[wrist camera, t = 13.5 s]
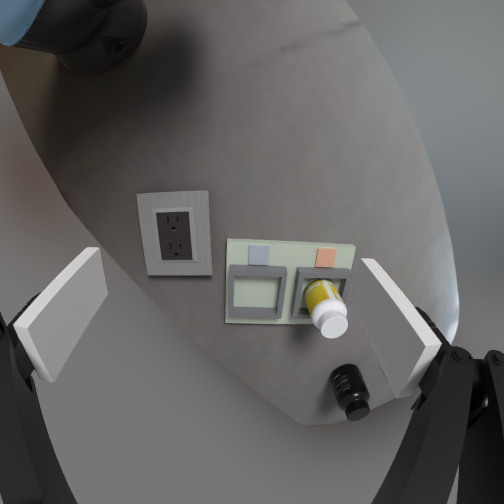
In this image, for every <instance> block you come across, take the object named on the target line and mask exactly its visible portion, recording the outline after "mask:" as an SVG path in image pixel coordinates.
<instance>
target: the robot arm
mask: <svg viewBox="0 0 504 504" xmlns="http://www.w3.org/2000/svg"><path fill="white" fill-rule="evenodd" d="M146 24H147V10H146V7H145V4H144V3H143V1H142V0H0V43H3V44H4V45H6V46H15V47H21V48H26V49H32V50H37V51H42V52H47V53H51V54H54V55H55V56H56V57H57V58H58V60H59V61H60V62H61V64H62V65H63V66H64V67H66V68H67V69H69V70H71V71H74V72H78V73H82V74H95V73H100V72H103V71H106V70H108V69H110V68H112V67H114V66H115V65H117V64H118V63H120V62H121V61H122V60H124V59H125V58H126V57H127V56H128V55H129V54H130V53H131V52H132V51H133V50H134V48H135V47H136V46H137V44H138V43H139V41H140V39H141V38H142V36H143V33H144V31H145V28H146ZM107 295H108V292H107V287H106V282H105V277H104V271H103V266H102V260H101V254H100V248H97V247H87V248H86V249H85V250H84V251H82V252H81V253H80V254H79V255H78V256H77V257H76V258H75V259H74V260H73V261H72V262H71V263H70V264H69V265H68V266H67V267H66V268H65V269H64V270H63V271H62V272H61V273H60V274H59V275H58V276H57V277H56V278H55V279H54V280H53V281H52V282H51V283H50V284H49V285H48V286H47V287H46V288H45V290H44V291H43V292H40V293H39V294H37V295H36V296H34V297H33V298H32V299H31V300H30V301H29V302H28V303H27V305H25V306H24V307H23V309H22V311H20V312H19V313H18V314H17V315H16V316H15V318H14V319H13V320H12V321H11V322H10V323H9V325H8V326H6V324H5V322H4V320H3V317H2V315H1V312H0V494H1V497H2V500H3V504H77V502H76V500H75V498H74V496H73V494H72V492H71V490H70V488H69V486H68V483H67V481H66V479H65V476H64V474H63V472H62V469H61V467H60V465H59V462H58V460H57V457H56V455H55V452H54V449H53V446H52V444H51V441H50V438H49V435H48V432H47V428H46V425H45V422H44V419H43V415H42V412H41V408H40V404H39V400H38V396H37V392H36V388H35V384H34V380H33V378H32V376H31V373H32V371H33V370H34V369H35V371H36V373H37V374H38V376H39V378H40V379H42V380H45V381H48V382H51V383H54V382H55V380H56V379H57V377H58V375H59V373H60V371H61V370H62V368H63V366H64V364H65V362H66V361H67V359H68V357H69V355H70V354H71V352H72V350H73V349H74V347H75V345H76V343H77V342H78V340H79V339H80V337H81V335H82V334H83V332H84V330H85V329H86V327H87V326H88V324H89V322H90V321H91V319H92V318H93V316H94V314H95V313H96V311H97V310H98V308H99V307H100V305H101V304H102V302H103V301H104V299H105V298H106V296H107ZM350 306H351V308H352V310H353V312H354V314H355V316H356V318H357V319H358V321H359V323H360V325H361V327H362V329H363V331H364V333H365V335H366V337H367V339H368V341H369V343H370V345H371V347H372V349H373V351H374V353H375V355H376V357H377V359H378V361H379V363H380V365H381V367H382V369H383V371H384V373H385V375H386V377H387V379H388V382H389V384H390V386H391V388H392V390H393V392H394V394H395V397H396V398H402V397H407V396H411V395H412V394H413V393H414V391H415V390H416V388H417V387H418V385H419V387H420V389H421V391H422V392H421V394H420V396H419V397H418V399H417V400H416V401H415V403H414V404H413V406H412V407H411V410H413V409H414V407H415V409H414V412H413V414H412V417H411V420H410V423H409V425H408V428H407V430H406V433H405V436H404V438H403V440H402V443H401V445H400V448H399V450H398V452H397V454H396V457H395V459H394V461H393V463H392V465H391V467H390V469H389V471H388V473H387V475H386V477H385V479H384V482H383V483H382V485H381V487H380V489H379V491H378V493H377V494H376V496H375V498H374V500H373V502H372V503H371V504H447V501H448V498H449V495H450V492H451V489H452V486H453V482H454V479H455V476H456V472H457V468H458V465H459V479H458V493H457V503H456V504H504V354H503V353H501V352H500V351H497V350H490V351H488V353H487V354H486V356H485V358H484V359H473V357H472V356H471V354H470V353H469V352H468V351H467V350H465V349H463V348H461V347H457V346H453V347H452V346H451V345H450V344H449V342H448V341H447V340H446V338H445V337H444V336H443V334H442V333H441V332H440V330H439V329H438V328H436V325H435V324H434V323H433V322H432V320H431V319H430V318H429V316H428V315H427V314H426V313H425V312H424V311H422V310H421V309H420V308H418V307H414V306H413V305H412V304H411V303H410V301H409V300H408V299H407V298H406V296H405V295H404V294H403V293H402V291H401V290H400V289H399V288H398V287H397V285H396V284H395V283H394V282H393V281H392V279H391V278H390V277H389V276H388V275H387V273H386V272H385V271H384V270H383V269H382V268H381V266H380V265H379V264H378V263H377V262H376V261H375V260H374V259H362V258H361V260H360V264H359V269H358V273H357V277H356V281H355V285H354V289H353V293H352V296H351V300H350ZM487 399H488V405H487V407H486V405H485V401H486V400H487Z"/></svg>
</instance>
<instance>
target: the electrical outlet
mask: <svg viewBox="0 0 504 504" xmlns="http://www.w3.org/2000/svg"><path fill="white" fill-rule="evenodd" d="M136 195H137V205H138V213H139V221H140V229H141V236H142V243H143V249H144V256H145V262H146V268H147V273H148V275H213V269H212V253H211V235H210V215H209V190H203V191H177V192H157V193H141V194H136Z"/></svg>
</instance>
